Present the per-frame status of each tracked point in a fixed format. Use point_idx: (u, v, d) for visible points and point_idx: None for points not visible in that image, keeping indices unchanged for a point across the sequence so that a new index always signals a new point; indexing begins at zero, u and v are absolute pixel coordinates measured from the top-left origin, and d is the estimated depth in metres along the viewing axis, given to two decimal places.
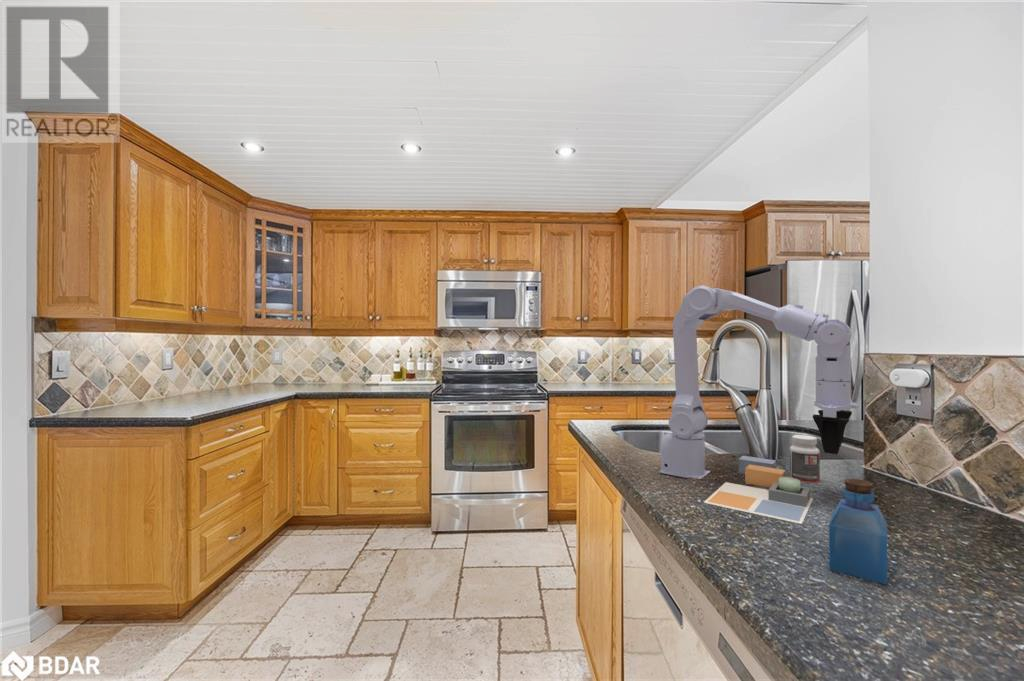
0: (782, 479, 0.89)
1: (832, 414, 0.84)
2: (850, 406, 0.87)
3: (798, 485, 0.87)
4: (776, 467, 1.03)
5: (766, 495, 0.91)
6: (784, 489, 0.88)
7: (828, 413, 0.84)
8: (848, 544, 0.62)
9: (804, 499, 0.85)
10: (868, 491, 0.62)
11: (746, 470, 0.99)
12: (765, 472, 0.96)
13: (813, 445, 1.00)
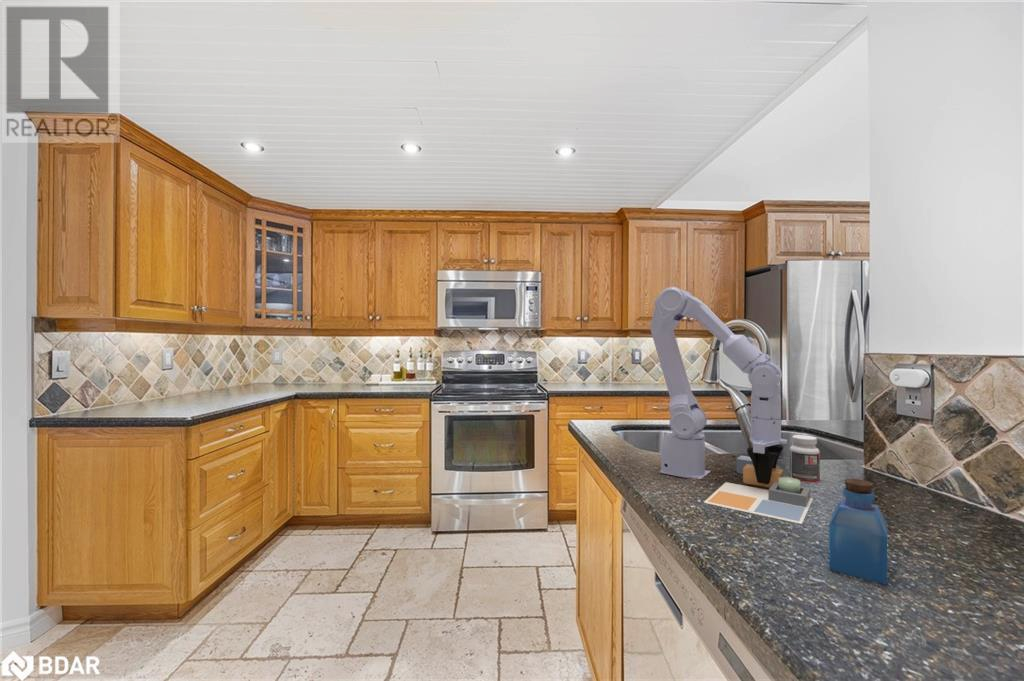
0: (782, 479, 0.89)
1: (760, 450, 0.92)
2: (779, 442, 0.95)
3: (798, 485, 0.87)
4: None
5: (766, 495, 0.91)
6: (784, 489, 0.88)
7: (757, 449, 0.93)
8: (848, 544, 0.62)
9: (804, 499, 0.85)
10: (868, 491, 0.62)
11: (744, 470, 0.99)
12: None
13: (813, 445, 1.00)
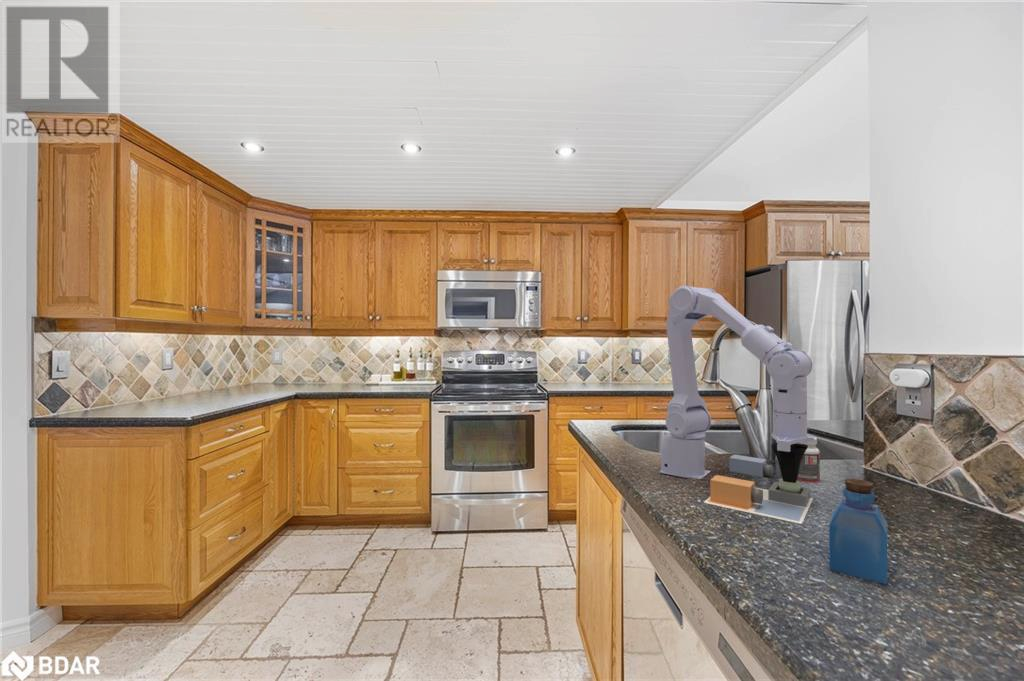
0: (782, 481, 0.89)
1: (786, 448, 0.83)
2: (806, 439, 0.86)
3: (798, 487, 0.87)
4: (766, 466, 1.04)
5: (766, 495, 0.91)
6: None
7: (782, 447, 0.83)
8: (848, 544, 0.62)
9: (804, 499, 0.85)
10: (868, 491, 0.62)
11: (711, 482, 0.88)
12: (732, 484, 0.86)
13: (813, 445, 1.00)
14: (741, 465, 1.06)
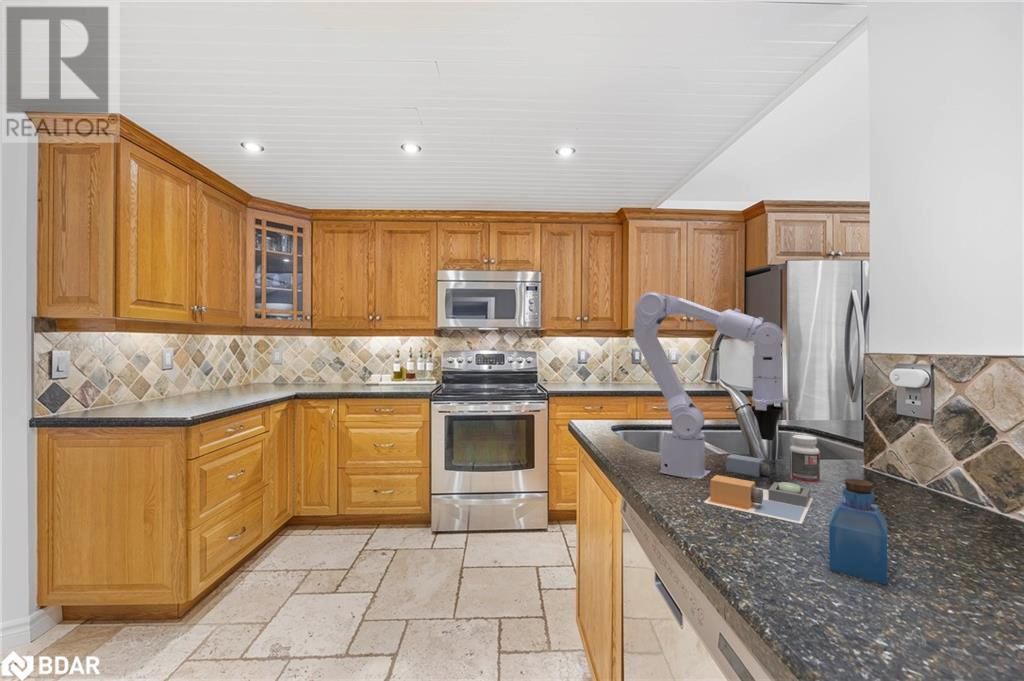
0: (782, 484, 0.89)
1: (762, 407, 0.94)
2: (781, 400, 0.97)
3: (798, 490, 0.87)
4: (762, 465, 1.04)
5: (766, 495, 0.91)
6: None
7: (759, 406, 0.94)
8: (848, 544, 0.62)
9: (804, 499, 0.85)
10: (868, 491, 0.62)
11: (711, 482, 0.88)
12: (732, 484, 0.86)
13: (813, 445, 1.00)
14: (738, 464, 1.06)
